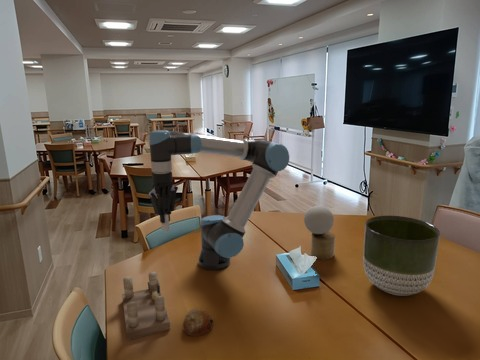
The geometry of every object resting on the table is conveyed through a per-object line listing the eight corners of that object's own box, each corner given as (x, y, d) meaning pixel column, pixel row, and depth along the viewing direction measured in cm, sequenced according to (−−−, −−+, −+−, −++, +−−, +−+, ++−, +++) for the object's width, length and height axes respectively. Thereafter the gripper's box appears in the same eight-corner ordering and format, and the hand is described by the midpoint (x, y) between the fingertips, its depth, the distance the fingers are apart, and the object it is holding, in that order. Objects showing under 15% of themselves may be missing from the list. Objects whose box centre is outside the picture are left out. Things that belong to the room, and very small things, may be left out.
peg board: (122, 300, 135) (120, 276, 132) (158, 293, 140) (157, 269, 137) (127, 340, 113) (124, 311, 110) (170, 329, 118) (168, 301, 115)
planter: (425, 277, 149) (433, 219, 143) (437, 313, 125) (447, 244, 118) (360, 268, 158) (364, 212, 151) (360, 300, 133) (365, 235, 127)
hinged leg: (160, 300, 129) (158, 282, 127) (151, 302, 128) (149, 283, 126) (158, 288, 137) (156, 271, 136) (149, 289, 136) (148, 272, 135)
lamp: (300, 257, 169) (301, 209, 163) (306, 246, 182) (307, 200, 176) (331, 262, 164) (334, 212, 158) (335, 250, 176) (338, 203, 170)
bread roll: (189, 327, 125) (179, 310, 123) (215, 315, 124) (205, 297, 122) (188, 346, 115) (176, 328, 113) (215, 333, 115) (204, 315, 113)
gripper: (169, 167, 138) (172, 223, 143) (141, 173, 128) (146, 232, 134) (181, 169, 133) (184, 227, 139) (153, 176, 123) (158, 237, 129)
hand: (165, 229), depth 136 cm, fingers closed
